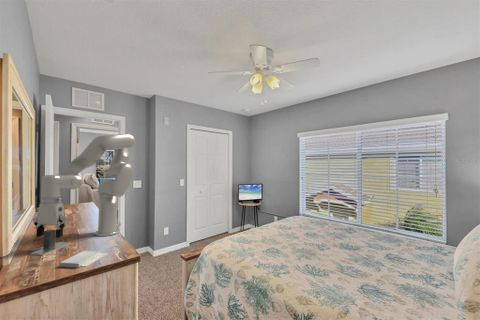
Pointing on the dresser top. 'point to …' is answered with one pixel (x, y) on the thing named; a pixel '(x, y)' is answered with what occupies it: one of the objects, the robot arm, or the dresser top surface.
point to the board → (94, 259)
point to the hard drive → (79, 259)
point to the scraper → (50, 243)
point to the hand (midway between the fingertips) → (49, 236)
